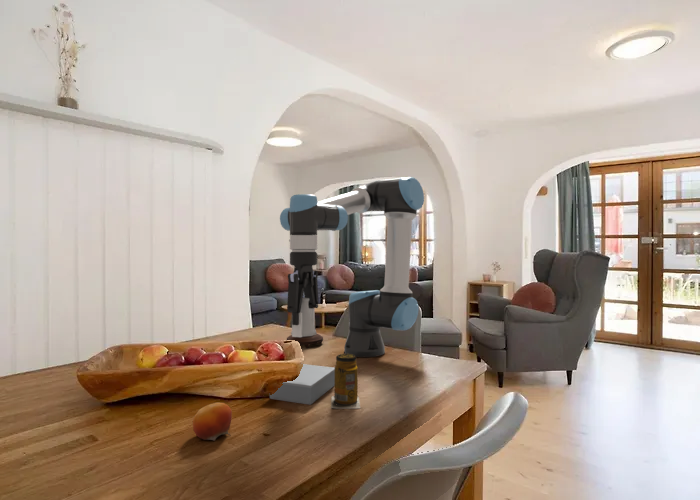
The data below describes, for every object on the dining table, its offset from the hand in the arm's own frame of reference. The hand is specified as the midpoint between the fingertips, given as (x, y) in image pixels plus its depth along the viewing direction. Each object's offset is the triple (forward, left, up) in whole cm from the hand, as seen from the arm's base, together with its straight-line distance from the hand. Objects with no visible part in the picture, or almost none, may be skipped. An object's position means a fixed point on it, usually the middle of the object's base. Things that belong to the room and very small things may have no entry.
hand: (303, 333), depth 119 cm
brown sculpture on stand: (-50, -25, -16) cm, 58 cm away
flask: (0, 0, 0) cm, 0 cm away
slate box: (0, 0, -16) cm, 16 cm away
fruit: (+31, -6, -16) cm, 36 cm away
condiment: (+3, +14, -16) cm, 22 cm away
